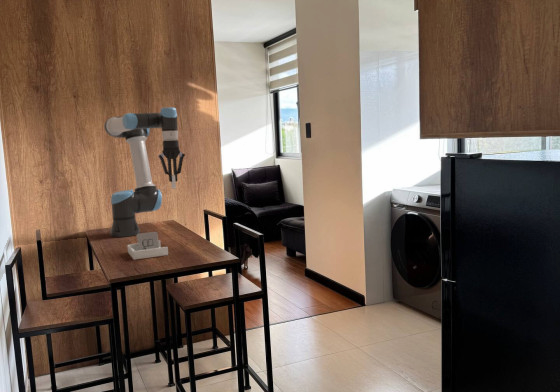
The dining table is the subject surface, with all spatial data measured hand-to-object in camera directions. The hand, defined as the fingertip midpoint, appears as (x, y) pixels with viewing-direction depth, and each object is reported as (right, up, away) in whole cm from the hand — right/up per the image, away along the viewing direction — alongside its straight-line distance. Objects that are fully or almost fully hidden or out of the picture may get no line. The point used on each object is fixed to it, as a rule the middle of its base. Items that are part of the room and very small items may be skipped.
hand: (173, 188), depth 261 cm
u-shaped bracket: (-8, -30, -20) cm, 37 cm away
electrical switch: (-8, -30, -17) cm, 35 cm away
